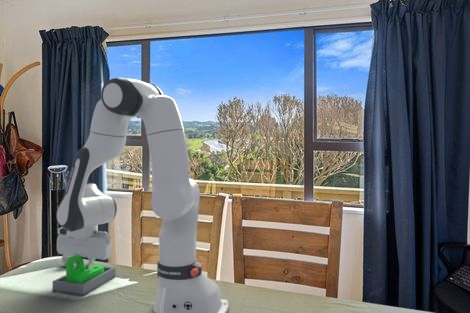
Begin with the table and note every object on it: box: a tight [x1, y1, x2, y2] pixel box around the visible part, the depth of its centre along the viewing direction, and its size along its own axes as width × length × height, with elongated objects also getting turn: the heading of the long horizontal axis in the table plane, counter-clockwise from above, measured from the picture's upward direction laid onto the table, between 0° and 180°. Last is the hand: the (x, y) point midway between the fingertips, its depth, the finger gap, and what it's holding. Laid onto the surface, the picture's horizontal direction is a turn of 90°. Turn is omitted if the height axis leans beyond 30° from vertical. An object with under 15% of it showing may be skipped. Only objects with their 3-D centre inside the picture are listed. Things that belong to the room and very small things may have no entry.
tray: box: [52, 264, 116, 297], centre depth 120 cm, size 12×17×4 cm
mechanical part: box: [65, 256, 105, 284], centre depth 119 cm, size 12×6×8 cm, turn 153°
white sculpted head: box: [61, 254, 76, 266], centre depth 137 cm, size 6×7×7 cm
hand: (84, 268), depth 120 cm, fingers closed on mechanical part, 3 cm apart
